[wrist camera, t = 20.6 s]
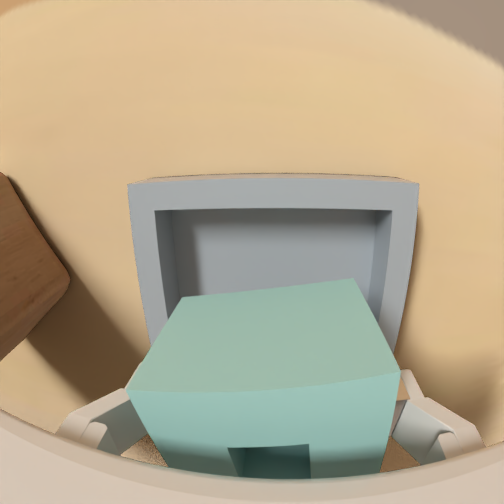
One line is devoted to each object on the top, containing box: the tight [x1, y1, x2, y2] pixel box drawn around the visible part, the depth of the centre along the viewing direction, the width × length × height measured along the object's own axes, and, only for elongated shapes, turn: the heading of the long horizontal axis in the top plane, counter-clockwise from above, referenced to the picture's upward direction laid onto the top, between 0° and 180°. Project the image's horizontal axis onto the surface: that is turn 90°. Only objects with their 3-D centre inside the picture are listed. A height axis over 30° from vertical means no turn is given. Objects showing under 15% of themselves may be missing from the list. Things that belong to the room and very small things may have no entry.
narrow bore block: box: [126, 278, 401, 479], centre depth 9 cm, size 6×6×5 cm
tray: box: [127, 173, 419, 354], centre depth 15 cm, size 12×12×3 cm
